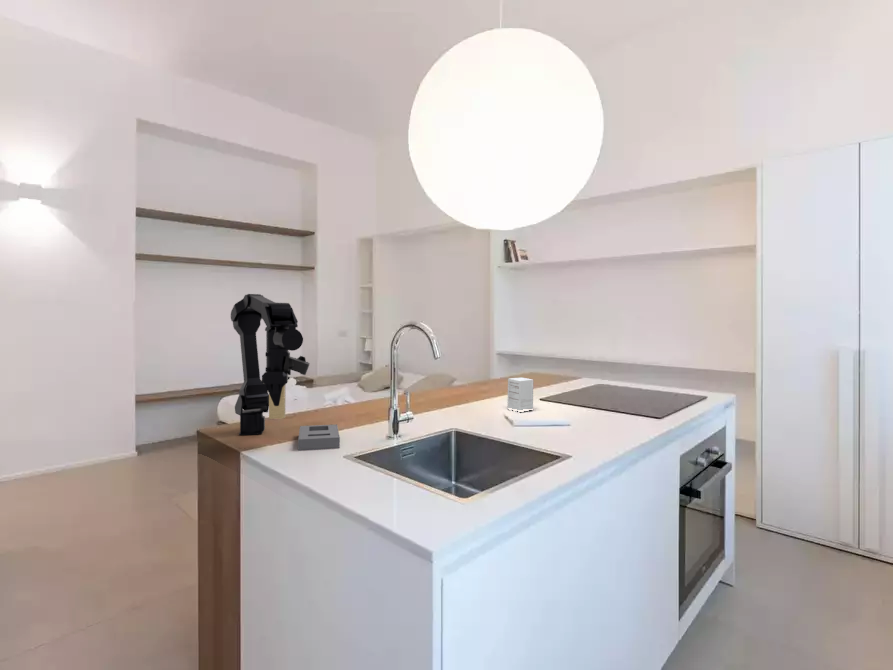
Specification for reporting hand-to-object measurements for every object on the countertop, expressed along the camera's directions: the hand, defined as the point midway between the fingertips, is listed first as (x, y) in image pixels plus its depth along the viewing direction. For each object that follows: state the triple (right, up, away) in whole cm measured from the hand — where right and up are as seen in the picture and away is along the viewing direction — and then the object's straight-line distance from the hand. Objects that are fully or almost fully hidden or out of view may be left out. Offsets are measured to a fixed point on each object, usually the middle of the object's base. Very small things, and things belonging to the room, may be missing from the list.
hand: (277, 404), depth 134 cm
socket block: (+10, -12, +7) cm, 17 cm away
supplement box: (+76, -11, +57) cm, 95 cm away
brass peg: (0, -4, 0) cm, 4 cm away
